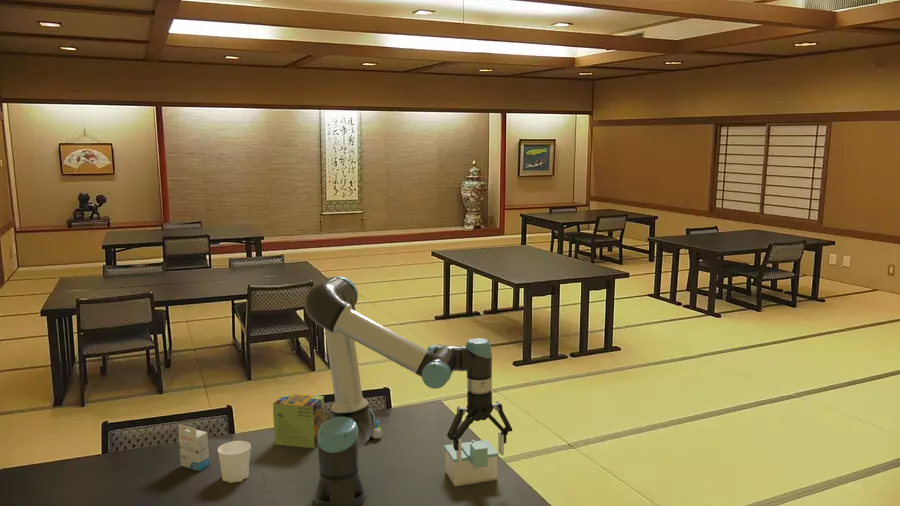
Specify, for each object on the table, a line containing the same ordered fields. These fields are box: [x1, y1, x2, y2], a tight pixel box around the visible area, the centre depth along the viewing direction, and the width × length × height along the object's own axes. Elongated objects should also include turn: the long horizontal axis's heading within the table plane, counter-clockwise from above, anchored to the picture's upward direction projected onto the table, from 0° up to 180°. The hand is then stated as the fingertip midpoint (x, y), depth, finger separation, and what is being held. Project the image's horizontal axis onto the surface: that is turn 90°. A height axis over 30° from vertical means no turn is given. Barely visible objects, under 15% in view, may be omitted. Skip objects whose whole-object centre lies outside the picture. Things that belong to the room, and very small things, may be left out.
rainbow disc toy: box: [366, 419, 383, 442], centre depth 249 cm, size 8×10×7 cm
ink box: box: [177, 423, 210, 472], centre depth 226 cm, size 9×5×15 cm, turn 62°
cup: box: [217, 440, 252, 484], centre depth 219 cm, size 10×10×10 cm
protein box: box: [272, 393, 326, 449], centre depth 245 cm, size 10×15×16 cm
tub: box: [444, 449, 498, 487], centre depth 218 cm, size 14×10×8 cm
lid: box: [443, 439, 499, 468], centre depth 215 cm, size 15×15×6 cm
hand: (480, 456), depth 210 cm, fingers open, 13 cm apart
